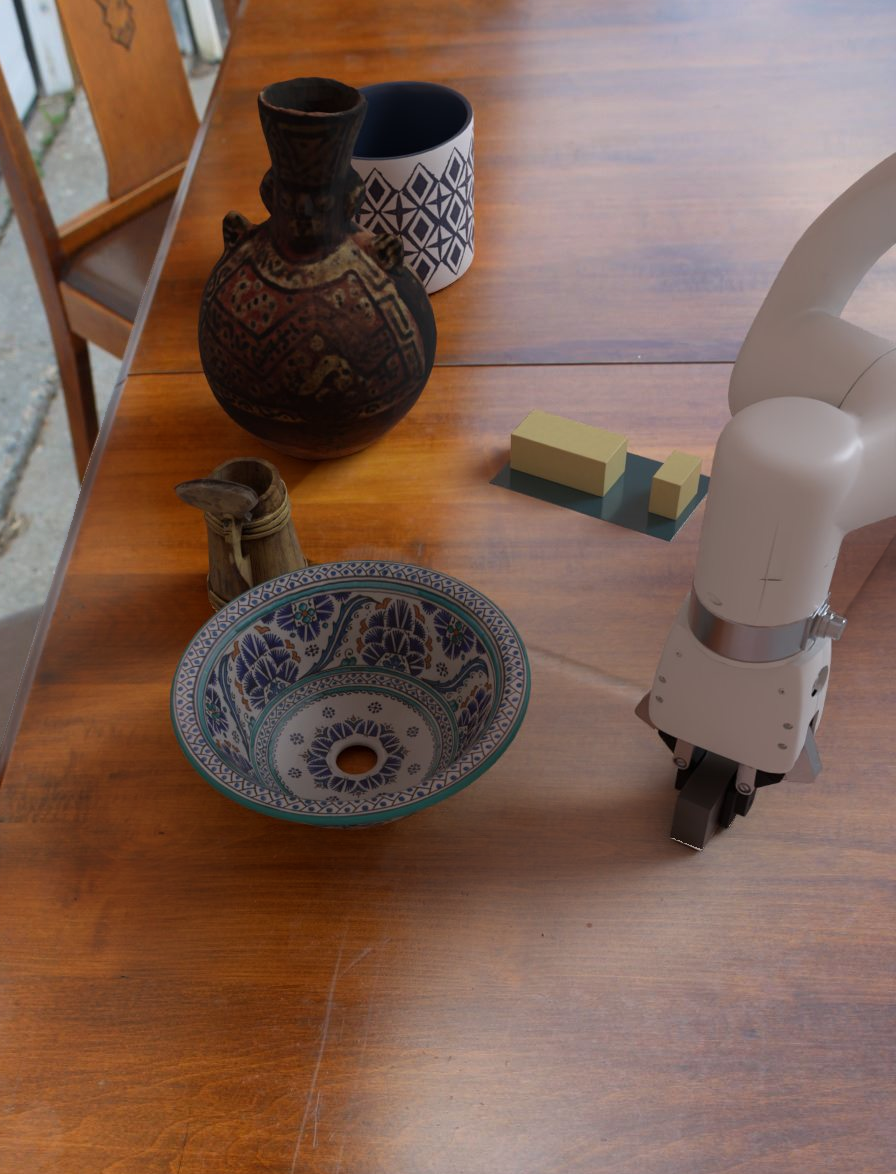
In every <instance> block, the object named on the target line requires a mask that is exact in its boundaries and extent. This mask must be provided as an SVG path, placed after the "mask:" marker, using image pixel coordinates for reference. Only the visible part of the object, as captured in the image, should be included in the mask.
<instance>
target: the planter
mask: <svg viewBox="0 0 896 1174" xmlns="http://www.w3.org/2000/svg"><path fill="white" fill-rule="evenodd" d="M355 89H356V90H358V91H360V93H361V94H363V95H365V96H366V98H367V100H368V108H367V112H366V116H365V119H364V120H363V123H362V126H361V129H360V131H359V134H358V137H357V140H356V142H355V145H354V148H353V154H352V159H351V165H352V167H353V169H354V170H356V171H357V172H358V173H359V175H360V176H361V177H362V179H363V181H364V183H365V186H366V198H365V202H364V204H363V205H362V207H361V209H360V210H359V211H358V212H357V213H356V214H355V215H354V217H353V218H352V219H351V220H352V221H354V222H356V223H358V224H359V225H361V226H363V227H365V228H366V229H368V230H369V231H371V232H373V233H374V234H376V235H379V234H383V233H391V234H394V235H396V236H398V237H399V238H400V239H401V240H402V242H403V245H404V252H405V255H404V258H405V259H406V260H407V261H408V262H409V264H410V265H411V266H412V267H413V268H414V269H415V271H416V272H417V274H418V275H419V277H420V279H421V280H422V282H423V284H424V286H425V289H426V291H427V294H428V295H430V294H434V293H436V292H438V291H441V290H443V289H444V288H446V287H448V286H450V285H451V284H453V283H455V282H456V281H457V280H459V278H461V277H462V276H464V274H465V273H466V272H467V271H468V270H469V268H470V266H471V264H472V263H473V260H474V257H475V150H474V149H475V145H474V144H475V143H474V141H475V140H474V139H475V136H474V135H475V134H474V133H475V132H474V128H475V127H474V108H473V106H472V104H471V102H470V101H469V100H468V98H467V97H466V96H465V95H464V94H462V93H461V92H459V91H457V90H455V89H453V88H451V87H448V86H446V85H443V84H438V83H434V82H427V81H420V80H419V81H417V80H396V81H388V82H381V83H374V84H370V85H365V86H362V87H359V88H355Z"/></svg>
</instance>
